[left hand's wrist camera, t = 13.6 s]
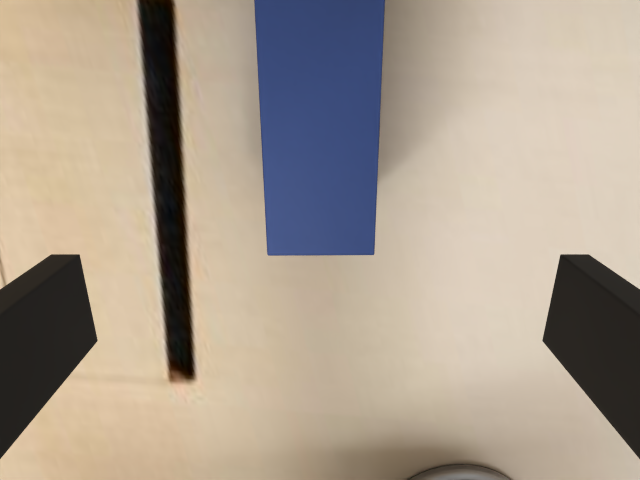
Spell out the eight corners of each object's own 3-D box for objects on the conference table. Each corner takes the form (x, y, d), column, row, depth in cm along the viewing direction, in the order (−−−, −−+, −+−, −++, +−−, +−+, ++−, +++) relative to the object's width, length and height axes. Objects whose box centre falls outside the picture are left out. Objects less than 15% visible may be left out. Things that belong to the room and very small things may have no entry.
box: (358, 201, 35) (374, 255, 25) (282, 202, 35) (267, 255, 25) (368, -149, 27) (396, -280, 17) (269, -149, 27) (239, -279, 17)
